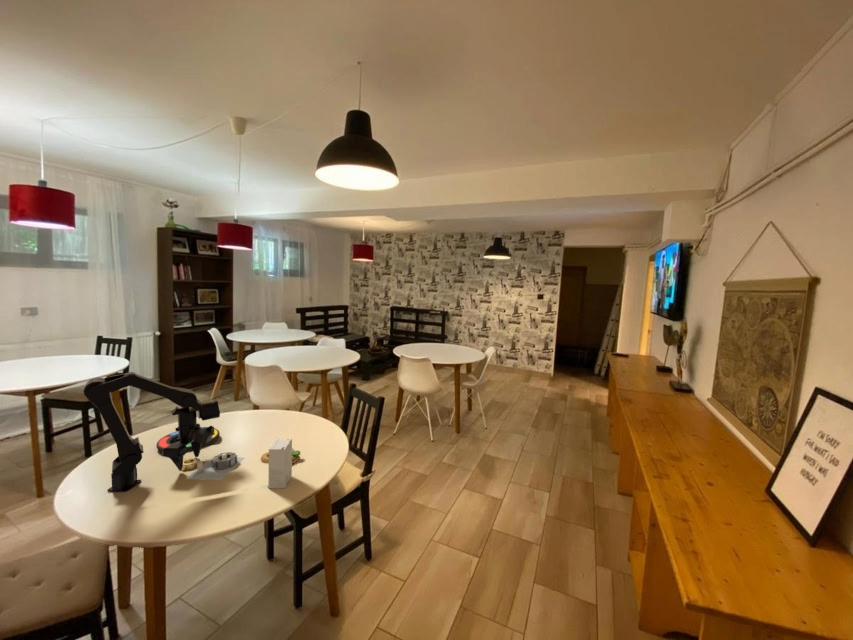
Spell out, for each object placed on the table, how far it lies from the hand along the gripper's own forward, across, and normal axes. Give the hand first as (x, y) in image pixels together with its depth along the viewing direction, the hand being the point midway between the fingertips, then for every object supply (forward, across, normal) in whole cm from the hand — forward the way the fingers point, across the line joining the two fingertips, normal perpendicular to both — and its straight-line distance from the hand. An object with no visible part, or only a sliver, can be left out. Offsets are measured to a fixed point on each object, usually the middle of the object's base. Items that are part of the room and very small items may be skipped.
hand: (188, 462), depth 129 cm
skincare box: (+3, -8, -38) cm, 39 cm away
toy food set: (+3, +8, -32) cm, 33 cm away
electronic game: (+3, +21, +14) cm, 25 cm away
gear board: (+2, -1, -11) cm, 11 cm away
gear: (+1, +2, -13) cm, 13 cm away
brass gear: (+2, 0, 0) cm, 2 cm away
